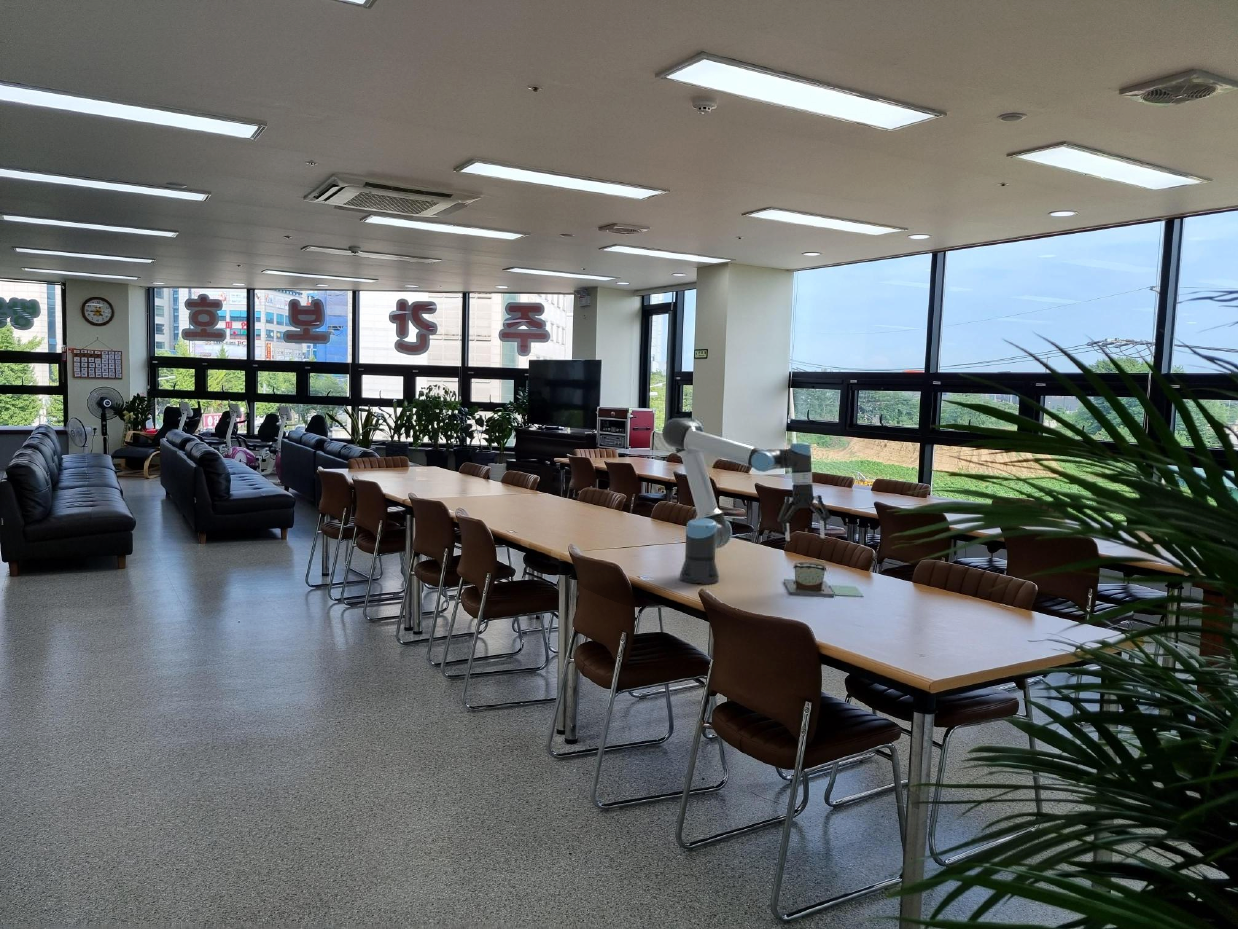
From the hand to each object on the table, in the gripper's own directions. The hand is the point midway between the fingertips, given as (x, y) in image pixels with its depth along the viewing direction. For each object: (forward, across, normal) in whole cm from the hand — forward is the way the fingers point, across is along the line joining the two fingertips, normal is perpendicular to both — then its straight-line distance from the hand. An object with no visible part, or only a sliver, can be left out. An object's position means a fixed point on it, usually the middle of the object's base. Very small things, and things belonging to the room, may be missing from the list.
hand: (805, 539), depth 323 cm
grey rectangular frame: (+19, -1, -3) cm, 19 cm away
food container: (+19, -1, -3) cm, 19 cm away
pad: (+20, +13, -6) cm, 24 cm away
